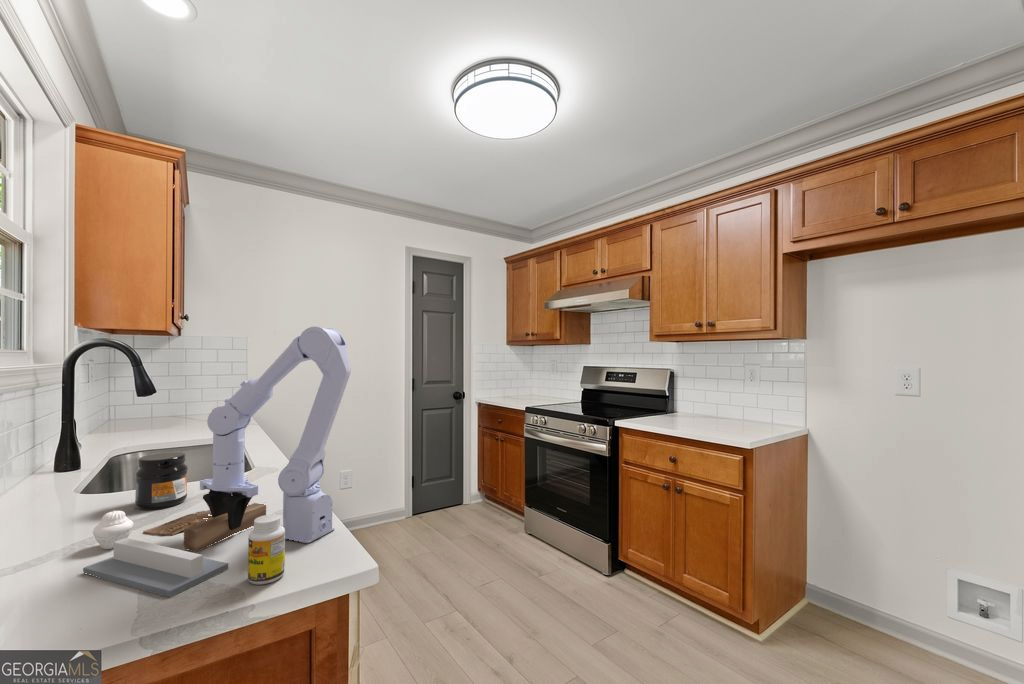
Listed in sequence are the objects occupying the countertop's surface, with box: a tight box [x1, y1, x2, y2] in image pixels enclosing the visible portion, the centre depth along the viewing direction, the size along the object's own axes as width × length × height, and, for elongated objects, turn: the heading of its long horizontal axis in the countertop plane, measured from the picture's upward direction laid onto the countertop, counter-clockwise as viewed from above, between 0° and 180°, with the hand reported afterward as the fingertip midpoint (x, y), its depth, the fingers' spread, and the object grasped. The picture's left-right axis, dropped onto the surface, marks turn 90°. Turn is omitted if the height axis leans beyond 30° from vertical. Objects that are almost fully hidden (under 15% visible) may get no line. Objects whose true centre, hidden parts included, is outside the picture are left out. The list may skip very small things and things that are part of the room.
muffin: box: [92, 510, 134, 550], centre depth 91 cm, size 6×6×7 cm
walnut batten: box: [183, 502, 267, 552], centre depth 97 cm, size 4×16×4 cm, turn 160°
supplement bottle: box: [247, 514, 286, 586], centre depth 79 cm, size 6×6×10 cm
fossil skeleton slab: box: [142, 509, 213, 536], centre depth 107 cm, size 26×11×1 cm, turn 138°
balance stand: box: [82, 537, 229, 598], centre depth 81 cm, size 22×10×4 cm, turn 70°
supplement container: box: [134, 451, 189, 511], centre depth 116 cm, size 10×10×12 cm
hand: (227, 526), depth 97 cm, fingers closed on walnut batten, 3 cm apart
